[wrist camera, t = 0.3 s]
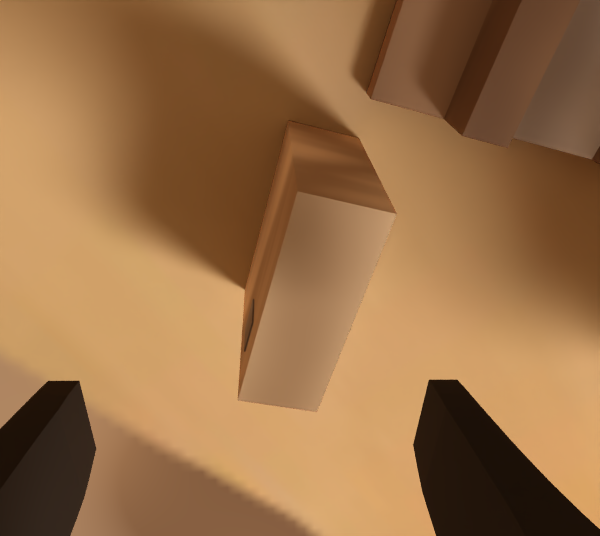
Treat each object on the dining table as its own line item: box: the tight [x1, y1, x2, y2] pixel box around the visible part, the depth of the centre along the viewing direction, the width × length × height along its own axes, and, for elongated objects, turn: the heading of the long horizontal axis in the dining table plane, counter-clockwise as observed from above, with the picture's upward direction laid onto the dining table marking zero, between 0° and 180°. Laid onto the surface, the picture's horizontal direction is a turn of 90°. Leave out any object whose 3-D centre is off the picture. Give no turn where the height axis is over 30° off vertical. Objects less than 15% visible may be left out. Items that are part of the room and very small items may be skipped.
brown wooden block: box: [238, 120, 397, 412], centre depth 16 cm, size 3×7×6 cm, turn 165°
